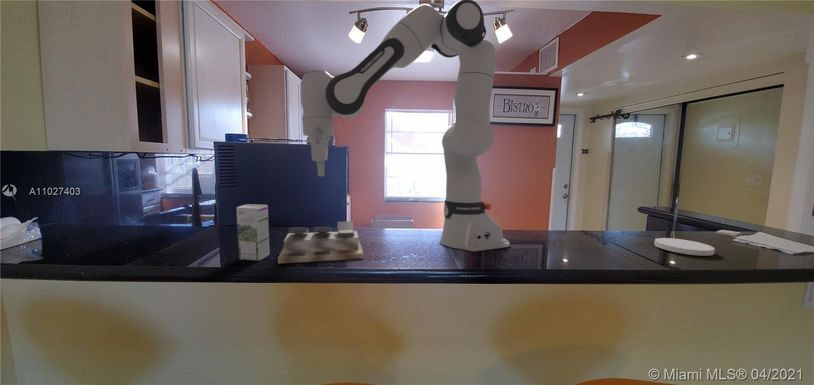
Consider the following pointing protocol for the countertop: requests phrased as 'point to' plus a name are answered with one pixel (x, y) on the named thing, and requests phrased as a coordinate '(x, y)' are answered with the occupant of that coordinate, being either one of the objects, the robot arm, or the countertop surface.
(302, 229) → the switch
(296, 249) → the switch unit
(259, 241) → the syrup box
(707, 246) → the plastic lid
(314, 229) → the switch middle
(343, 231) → the switch
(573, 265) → the countertop surface
